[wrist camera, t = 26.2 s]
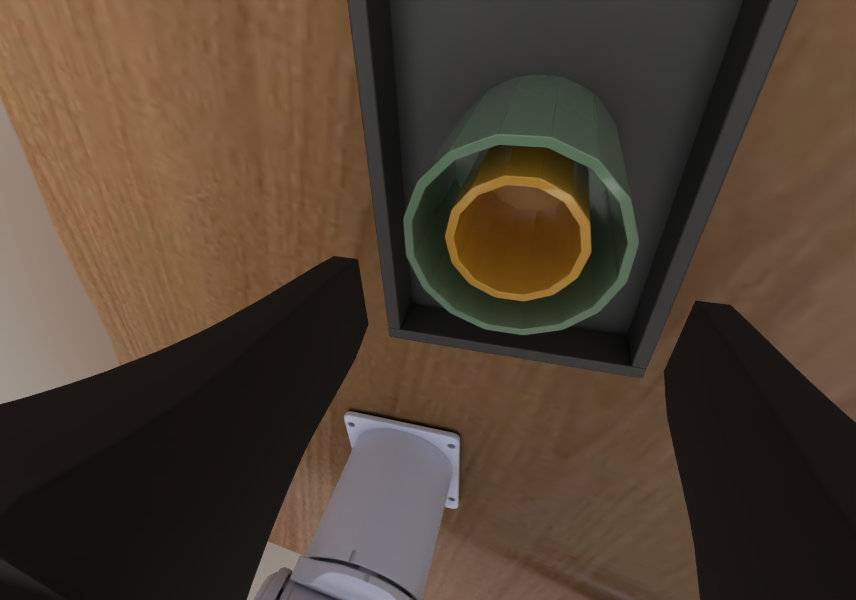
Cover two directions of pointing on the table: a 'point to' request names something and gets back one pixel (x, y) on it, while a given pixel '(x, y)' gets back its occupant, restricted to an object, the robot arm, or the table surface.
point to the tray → (626, 102)
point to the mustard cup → (521, 222)
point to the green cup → (534, 127)
